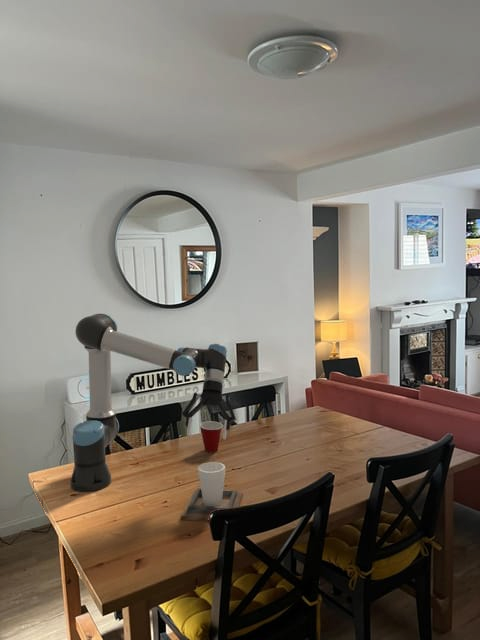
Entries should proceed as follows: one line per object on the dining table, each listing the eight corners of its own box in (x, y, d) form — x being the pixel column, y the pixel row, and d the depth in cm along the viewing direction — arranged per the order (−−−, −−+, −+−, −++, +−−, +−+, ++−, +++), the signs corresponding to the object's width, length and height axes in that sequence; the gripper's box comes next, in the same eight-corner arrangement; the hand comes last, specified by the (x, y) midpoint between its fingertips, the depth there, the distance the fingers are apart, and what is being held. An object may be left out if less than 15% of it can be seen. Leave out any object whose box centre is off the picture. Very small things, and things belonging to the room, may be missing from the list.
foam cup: (227, 497, 187) (226, 462, 185) (224, 509, 177) (223, 472, 176) (201, 497, 187) (200, 461, 186) (196, 509, 178) (195, 472, 177)
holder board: (180, 519, 174) (180, 510, 173) (194, 493, 193) (194, 484, 193) (234, 522, 171) (234, 512, 171) (242, 495, 191) (242, 486, 191)
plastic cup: (220, 454, 232) (220, 428, 230) (197, 453, 234) (196, 427, 233) (226, 446, 242) (225, 421, 241) (203, 445, 244) (202, 420, 243)
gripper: (246, 388, 206) (240, 442, 196) (183, 384, 209) (175, 436, 200) (244, 381, 199) (238, 436, 190) (180, 377, 203) (171, 431, 193)
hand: (206, 437), depth 195 cm, fingers open, 13 cm apart
